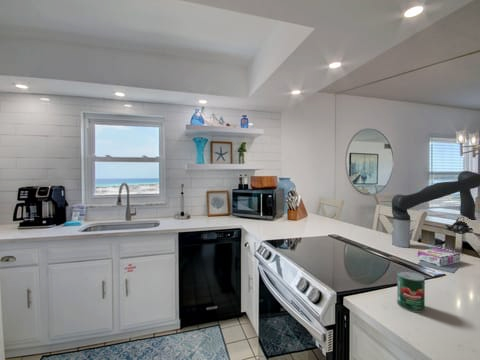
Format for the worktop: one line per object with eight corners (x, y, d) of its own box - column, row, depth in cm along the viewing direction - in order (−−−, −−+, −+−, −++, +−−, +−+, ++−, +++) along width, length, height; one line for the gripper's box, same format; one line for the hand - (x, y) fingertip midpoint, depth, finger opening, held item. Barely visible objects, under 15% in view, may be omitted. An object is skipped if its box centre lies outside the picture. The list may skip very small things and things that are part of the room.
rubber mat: (417, 264, 123) (417, 263, 123) (427, 256, 134) (427, 256, 134) (453, 273, 112) (453, 272, 112) (460, 264, 123) (460, 263, 123)
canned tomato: (412, 300, 88) (413, 270, 87) (430, 312, 80) (431, 279, 79) (391, 300, 87) (392, 270, 87) (407, 312, 79) (408, 280, 79)
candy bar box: (460, 253, 124) (441, 257, 118) (460, 262, 124) (440, 267, 118) (436, 246, 135) (417, 250, 129) (436, 255, 135) (417, 259, 129)
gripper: (447, 219, 153) (440, 222, 142) (476, 222, 143) (471, 226, 132) (447, 230, 153) (440, 235, 142) (476, 235, 143) (471, 239, 132)
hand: (455, 230), depth 137 cm, fingers closed
